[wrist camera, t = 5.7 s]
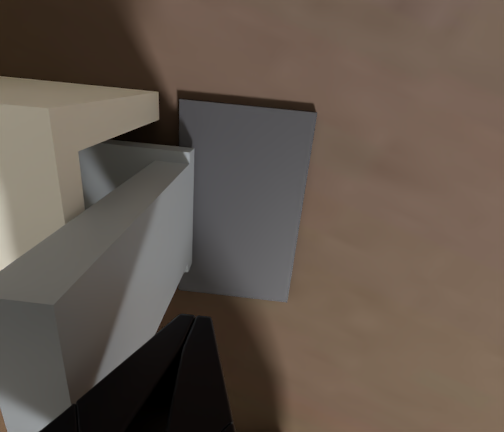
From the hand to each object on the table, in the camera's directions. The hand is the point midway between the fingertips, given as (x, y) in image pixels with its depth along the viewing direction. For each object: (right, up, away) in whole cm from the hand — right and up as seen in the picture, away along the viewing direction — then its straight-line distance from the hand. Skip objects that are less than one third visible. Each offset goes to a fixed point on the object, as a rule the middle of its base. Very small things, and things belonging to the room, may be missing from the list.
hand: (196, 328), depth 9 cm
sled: (-10, +4, +8) cm, 13 cm away
